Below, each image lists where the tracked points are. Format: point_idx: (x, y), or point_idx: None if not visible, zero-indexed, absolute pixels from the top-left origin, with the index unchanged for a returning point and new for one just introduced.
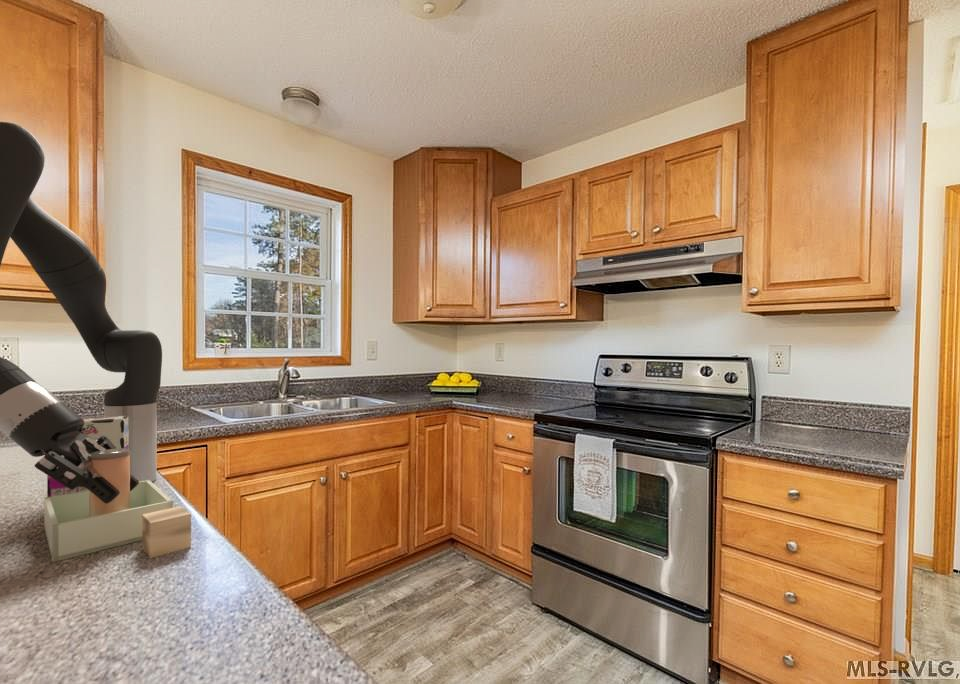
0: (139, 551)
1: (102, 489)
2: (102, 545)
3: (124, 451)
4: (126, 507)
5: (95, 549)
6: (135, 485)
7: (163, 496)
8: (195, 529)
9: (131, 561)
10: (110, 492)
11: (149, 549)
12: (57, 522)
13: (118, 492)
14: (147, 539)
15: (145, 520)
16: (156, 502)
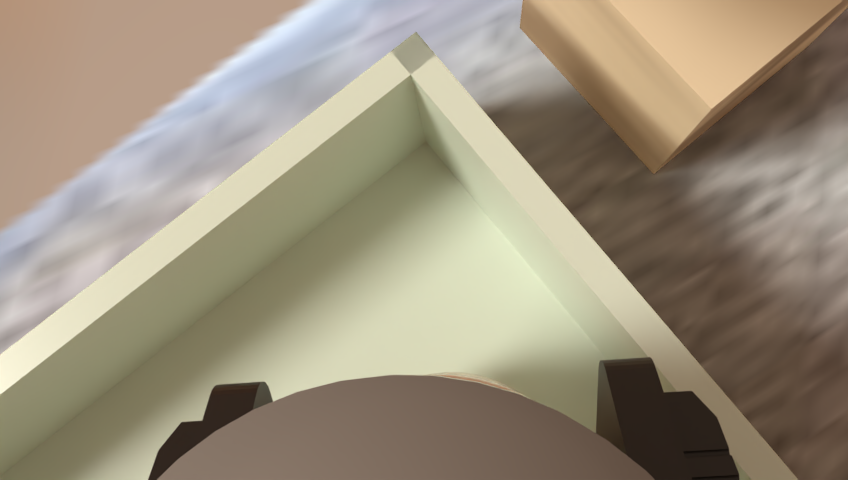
0: (706, 160)
1: (735, 477)
2: None
3: (399, 442)
4: (462, 373)
5: None
6: (269, 392)
7: (273, 174)
8: (395, 7)
9: (843, 127)
10: (687, 406)
11: (808, 43)
12: None
13: (619, 361)
14: (788, 56)
15: (786, 48)
16: (131, 333)
